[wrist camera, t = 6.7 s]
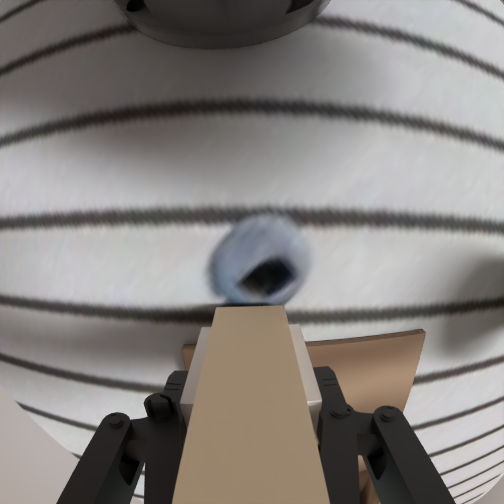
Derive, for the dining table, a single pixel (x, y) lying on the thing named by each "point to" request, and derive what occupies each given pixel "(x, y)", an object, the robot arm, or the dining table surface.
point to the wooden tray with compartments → (365, 376)
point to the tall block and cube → (250, 418)
